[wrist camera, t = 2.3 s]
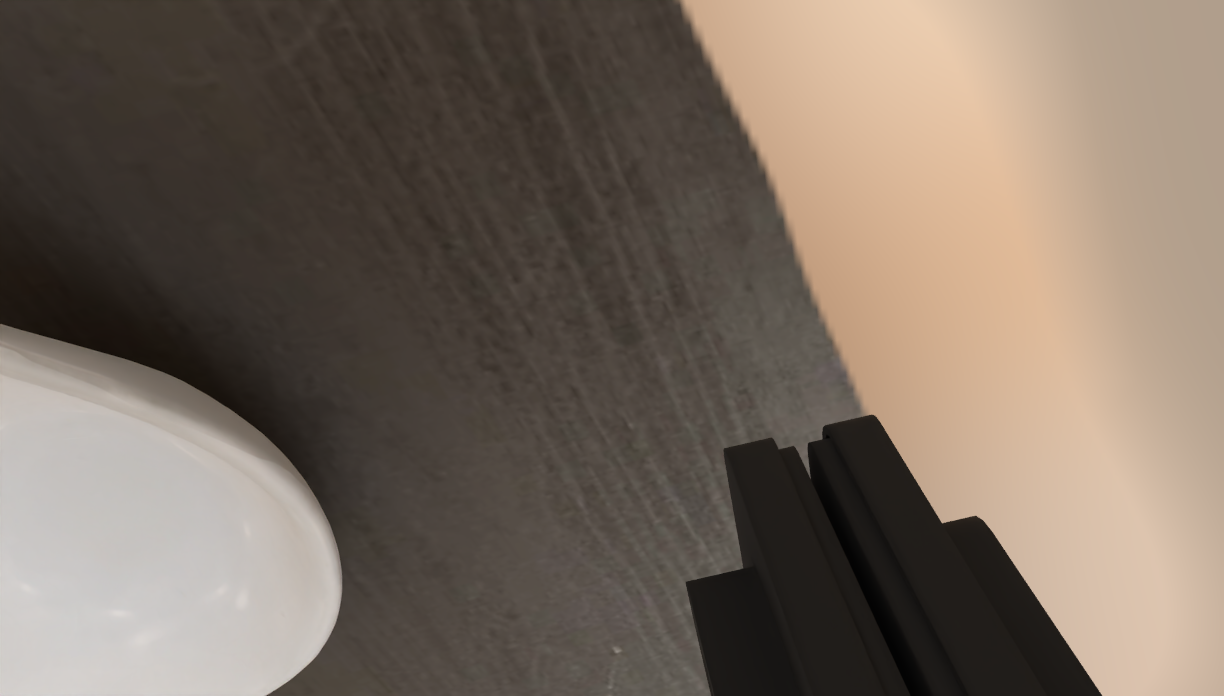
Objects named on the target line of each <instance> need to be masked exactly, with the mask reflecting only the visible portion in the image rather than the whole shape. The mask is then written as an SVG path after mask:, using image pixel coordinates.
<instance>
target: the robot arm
mask: <svg viewBox="0 0 1224 696" xmlns="http://www.w3.org/2000/svg"><path fill="white" fill-rule="evenodd" d="M822 435H823V440H818V441H814V442H810V443H808V458H809V467H810V475H811V479H810V477H809V475H808V473H807V471H806V469H805V466H804V464H803V462H802V460H801V458H800V456H799V453H798V451H797V450H796V448H795V447H794V446H792V447H788V448H783V449H779V450H778V447H777V445H776V443H775V441H774V439H772V438H768V439H764V440H759V441H755V442H750V443H746V444H742V445H737V446H733V447H729V448H724V458H725V465H726V470H727V476H728V482H729V488H730V493H731V499H732V505H733V511H734V516H735V522H736V528H737V533H738V539H739V545H740V551H741V556H742V562H743V568H744V569H740V570H736V571H731V572H727V573H723V574H718V575H714V576H710V577H705V578H701V579H696V580H692V581H688V582H686V587H687V591H688V596H689V601H690V605H691V610H692V614H693V619H694V623H695V628H696V632H697V637H698V641H699V646H700V650H701V654H702V659H703V663H704V667H705V671H706V676H707V680H708V684H709V688H710V693H711V696H1102V695H1101V693H1100V692H1099V690H1098V689H1097V687H1096V686H1095V684H1094V683H1093V681H1092V680H1091V678H1090V677H1089V675H1088V674H1087V672H1086V671H1085V669H1084V668H1083V666H1082V665H1081V663H1080V662H1079V660H1078V659H1077V658H1076V656H1075V655H1074V653H1073V652H1072V650H1071V649H1070V647H1069V646H1068V644H1067V643H1066V641H1065V640H1064V638H1063V637H1062V635H1061V634H1060V632H1059V631H1058V629H1057V628H1056V626H1055V625H1054V623H1053V622H1052V620H1051V619H1050V617H1049V616H1048V614H1047V613H1046V611H1045V610H1044V608H1043V607H1042V605H1041V604H1040V602H1039V601H1038V599H1037V598H1036V596H1035V595H1034V593H1033V592H1032V590H1031V589H1030V587H1029V586H1028V584H1027V583H1026V582H1025V580H1024V579H1023V577H1022V576H1021V574H1020V573H1019V571H1018V570H1017V568H1016V567H1015V565H1014V564H1013V562H1012V561H1011V559H1010V558H1009V556H1008V555H1007V553H1006V552H1005V550H1004V549H1003V547H1002V546H1001V544H1000V543H999V541H998V540H997V538H996V537H995V535H994V534H993V532H992V531H991V530H990V528H989V527H988V526H987V525H986V524H985V522H984V521H983V520H982V519H980V518H978V517H977V516H972V517H968V518H964V519H959V520H955V521H950V522H946V523H941V521H940V519H939V518H938V516H937V515H936V513H935V511H934V510H933V508H932V506H931V505H930V503H929V501H928V500H927V498H926V497H925V495H924V493H923V492H922V490H921V488H920V487H919V485H918V483H917V482H916V480H915V479H914V477H913V475H912V474H911V472H910V470H909V469H908V467H907V466H906V464H905V462H904V461H903V459H902V457H901V456H900V454H899V452H898V451H897V449H896V448H895V446H894V444H893V443H892V441H891V439H890V438H889V436H888V434H887V433H886V431H885V429H884V428H883V426H882V425H881V423H880V421H879V420H878V419H877V417H876V416H874V415H868V416H864V417H860V418H855V419H851V420H846V421H842V422H838V423H833V424H829V425H825V426H824V427H823V432H822Z"/></svg>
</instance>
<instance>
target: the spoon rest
mask: <svg viewBox="0 0 1224 696" xmlns="http://www.w3.org/2000/svg"><path fill="white" fill-rule="evenodd" d="M341 596H342V570H341V563H340V556H339V552H338V548H337V544H336V541H335V538H334V535H333V532H332V529H331V526H330V524H329V522H328V520H327V518H326V516H325V514H324V512H323V510H322V508H321V506H320V504H319V502H318V500H317V498H316V497H315V495H314V494H313V492H312V490H311V489H310V487H309V486H308V484H307V482H306V481H305V480H304V478H303V477H302V476H301V474H300V473H299V472H298V471H297V469H296V468H295V467H294V466H293V464H292V463H291V462H290V460H289V459H288V458H287V457H286V456H285V455H284V454H283V453H282V452H281V451H280V450H279V449H278V448H277V447H276V446H275V445H274V444H273V443H272V442H271V441H270V440H269V439H268V438H267V437H266V436H265V435H264V434H263V433H261V432H260V431H259V430H257V429H256V428H255V427H254V426H252V425H251V424H250V423H248V422H247V421H245V420H244V419H243V418H241V417H240V416H239V415H237V414H236V413H235V412H233V411H232V410H230V409H229V408H227V407H225V406H224V405H222V404H221V403H219V402H218V401H216V400H215V399H213V398H211V397H210V396H208V395H207V394H205V393H203V392H201V391H200V390H198V389H196V388H194V387H192V386H191V385H189V384H187V383H185V382H184V381H182V380H179V379H177V378H175V377H173V376H171V375H168V374H166V373H164V372H161V371H158V370H156V369H153V368H150V367H147V366H144V365H141V364H139V363H136V362H133V361H130V360H127V359H123V358H120V357H116V356H113V355H109V354H106V353H102V352H98V351H95V350H91V349H88V348H84V347H81V346H77V345H73V344H70V343H66V342H63V341H59V340H55V339H52V338H48V337H45V336H41V335H37V334H34V333H30V332H27V331H23V330H20V329H16V328H12V327H9V326H6V325H2V324H0V696H266V695H267V694H269V693H271V692H273V691H274V690H276V689H277V688H279V687H280V686H282V685H283V684H285V683H286V682H288V681H289V680H291V679H292V678H293V677H294V676H295V675H297V674H298V673H299V672H300V671H301V670H303V669H304V668H305V667H306V666H307V665H308V664H309V663H310V662H311V661H312V660H313V659H314V658H315V657H316V656H317V655H318V654H319V652H320V650H321V649H322V647H323V646H324V644H325V643H326V641H327V640H328V638H329V636H330V634H331V632H332V630H333V628H334V625H335V623H336V620H337V616H338V613H339V608H340V603H341Z"/></svg>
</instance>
